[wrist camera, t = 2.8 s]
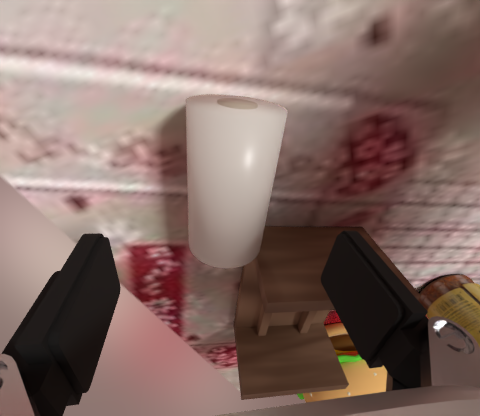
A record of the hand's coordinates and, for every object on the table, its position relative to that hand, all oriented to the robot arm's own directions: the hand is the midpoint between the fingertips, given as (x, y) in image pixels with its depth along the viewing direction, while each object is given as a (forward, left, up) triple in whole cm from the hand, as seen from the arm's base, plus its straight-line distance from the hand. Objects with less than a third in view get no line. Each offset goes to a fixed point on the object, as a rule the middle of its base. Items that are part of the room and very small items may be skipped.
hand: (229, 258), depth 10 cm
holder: (+11, +8, -8) cm, 16 cm away
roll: (-1, 0, -6) cm, 6 cm away
